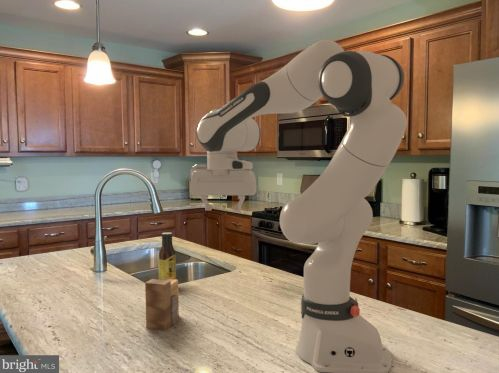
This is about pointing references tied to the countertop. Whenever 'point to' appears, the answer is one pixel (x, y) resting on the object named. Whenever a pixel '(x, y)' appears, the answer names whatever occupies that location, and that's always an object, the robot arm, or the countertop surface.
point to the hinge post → (160, 304)
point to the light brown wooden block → (174, 291)
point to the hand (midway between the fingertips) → (223, 210)
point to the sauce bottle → (167, 258)
